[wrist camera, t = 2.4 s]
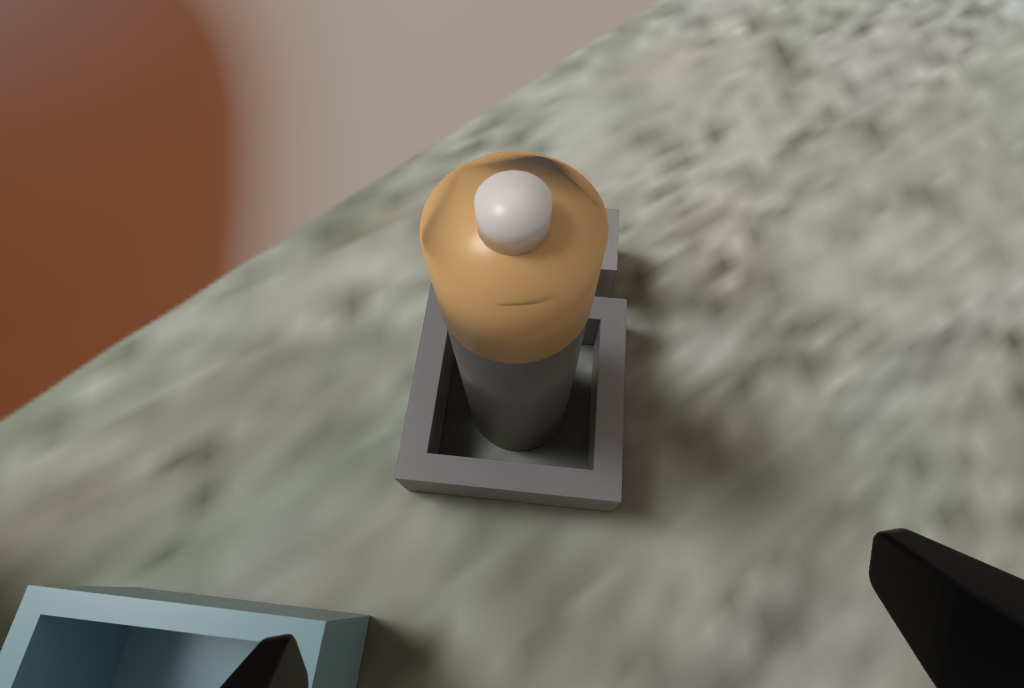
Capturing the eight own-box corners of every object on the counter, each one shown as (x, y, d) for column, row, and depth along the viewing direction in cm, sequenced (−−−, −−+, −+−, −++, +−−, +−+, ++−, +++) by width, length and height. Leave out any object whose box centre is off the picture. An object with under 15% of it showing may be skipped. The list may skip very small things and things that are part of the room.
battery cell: (570, 362, 24) (617, 131, 12) (563, 457, 23) (610, 297, 11) (476, 354, 25) (430, 119, 13) (463, 446, 23) (395, 278, 11)
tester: (620, 250, 27) (634, 198, 23) (610, 511, 22) (627, 496, 18) (452, 236, 27) (442, 184, 24) (407, 489, 22) (385, 470, 19)
